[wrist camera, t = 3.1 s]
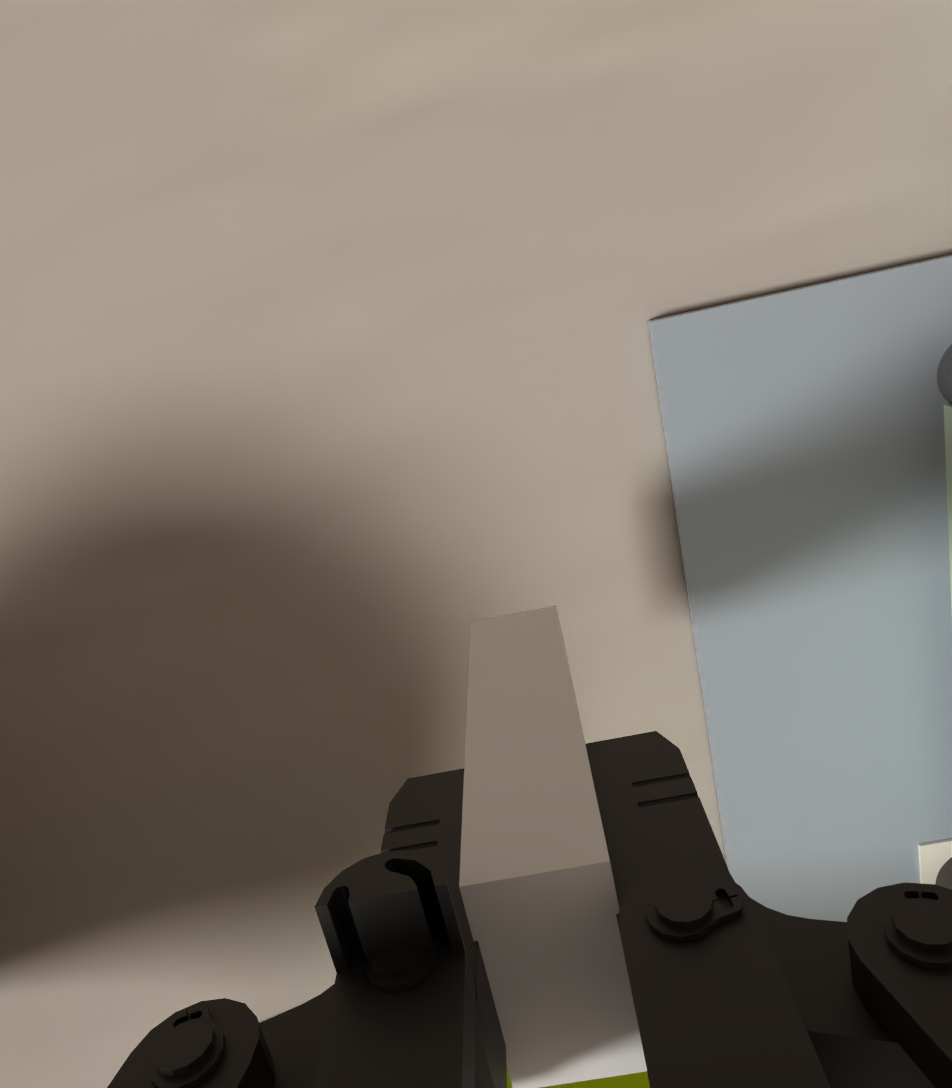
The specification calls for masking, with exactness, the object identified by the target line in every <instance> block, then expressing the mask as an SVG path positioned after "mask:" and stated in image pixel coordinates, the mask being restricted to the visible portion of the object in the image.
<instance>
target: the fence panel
mask: <svg viewBox="0 0 952 1088" xmlns="http://www.w3.org/2000/svg"><path fill="white" fill-rule="evenodd" d="M937 384H938V388H939V390H940V393H941V394H942V396H943V397H944V398H945V400H947V401H948V402H949V403H947V404H943V406H944V431H945V457H946V483H947V508H948V534H949V559H950V585H951V611H952V344H951V345H950V346H949V347H948V349H947V350H946V351H945V353H944V354H943V356H942V358H941V360H940V362H939V366H938V370H937Z"/></svg>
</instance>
